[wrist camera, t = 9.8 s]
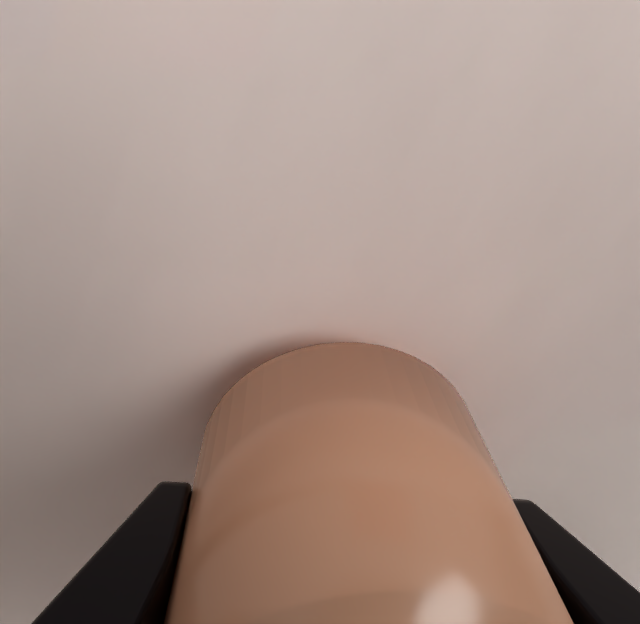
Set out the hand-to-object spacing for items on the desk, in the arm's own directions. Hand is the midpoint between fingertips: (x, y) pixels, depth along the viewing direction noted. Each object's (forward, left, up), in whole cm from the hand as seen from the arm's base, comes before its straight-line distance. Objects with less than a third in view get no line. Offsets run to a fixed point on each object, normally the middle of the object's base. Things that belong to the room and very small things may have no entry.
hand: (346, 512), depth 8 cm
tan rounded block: (0, 0, -1) cm, 1 cm away
